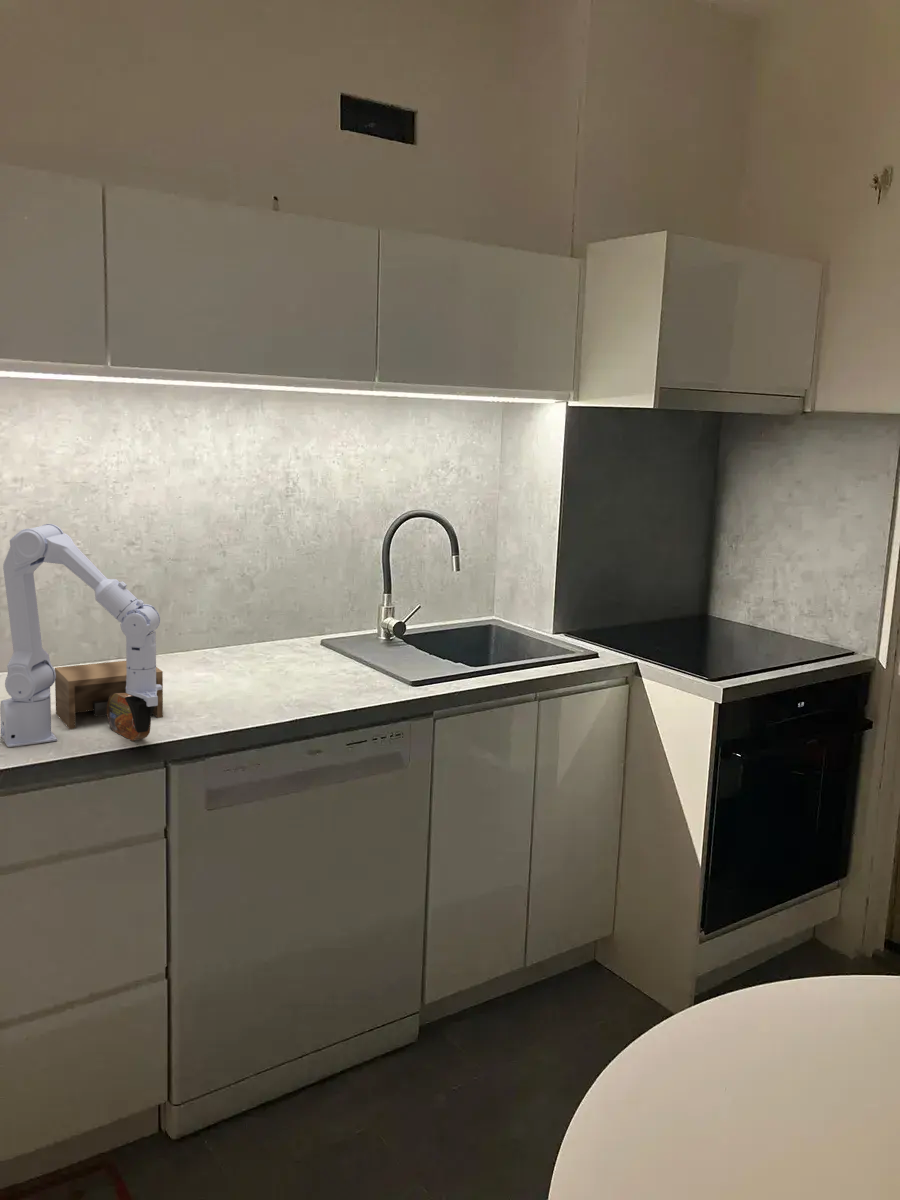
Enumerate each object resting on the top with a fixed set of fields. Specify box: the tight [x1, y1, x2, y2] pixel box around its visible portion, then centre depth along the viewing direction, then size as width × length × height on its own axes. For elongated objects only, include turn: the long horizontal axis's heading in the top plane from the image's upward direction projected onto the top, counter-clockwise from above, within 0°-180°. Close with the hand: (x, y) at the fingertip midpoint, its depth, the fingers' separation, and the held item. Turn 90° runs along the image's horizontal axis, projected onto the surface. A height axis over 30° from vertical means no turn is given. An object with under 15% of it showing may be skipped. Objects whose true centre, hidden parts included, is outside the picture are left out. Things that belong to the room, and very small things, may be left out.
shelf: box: [54, 660, 164, 730], centre depth 223 cm, size 20×12×10 cm, turn 124°
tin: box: [106, 693, 152, 742], centre depth 212 cm, size 15×3×8 cm, turn 45°
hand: (141, 731), depth 205 cm, fingers closed
